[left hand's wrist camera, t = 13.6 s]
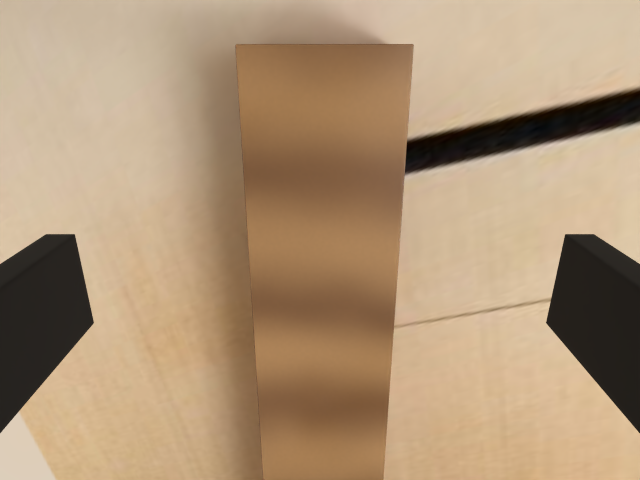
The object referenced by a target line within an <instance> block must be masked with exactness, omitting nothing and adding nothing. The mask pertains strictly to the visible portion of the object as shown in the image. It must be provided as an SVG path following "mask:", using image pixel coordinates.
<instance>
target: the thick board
mask: <svg viewBox="0 0 640 480" xmlns="http://www.w3.org/2000/svg"><path fill="white" fill-rule="evenodd" d="M413 46H414V45H413V44H236V45H235V47H236V63H237V78H238V94H239V110H240V125H241V141H242V156H243V172H244V188H245V203H246V219H247V234H248V250H249V266H250V281H251V297H252V313H253V328H254V344H255V359H256V375H257V391H258V406H259V422H260V437H261V453H262V469H263V480H383V474H384V460H385V446H386V432H387V417H388V403H389V389H390V374H391V360H392V346H393V332H394V317H395V303H396V289H397V274H398V260H399V246H400V232H401V217H402V203H403V189H404V174H405V160H406V146H407V132H408V117H409V103H410V89H411V75H412V60H413Z"/></svg>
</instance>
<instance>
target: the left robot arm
mask: <svg viewBox="0 0 640 480" xmlns="http://www.w3.org/2000/svg"><path fill="white" fill-rule="evenodd" d="M93 323H94V322H93V317H92V312H91V308H90V303H89V298H88V294H87V289H86V284H85V280H84V275H83V270H82V266H81V261H80V256H79V252H78V247H77V243H76V238H75V234H46V235H44V236H43V237H41V238H40V239H38V240H37V241H35V242H34V243H32V244H31V245H29V246H27V247H26V248H24V249H23V250H21V251H20V252H18V253H17V254H15V255H14V256H12V257H10V258H9V259H7V260H6V261H4V262H3V263H1V264H0V433H1V432H2V430H3V429H4V428H5V427H6V426H7V424H8V423H9V422H10V421H11V420H12V419H13V418H14V416H15V415H16V414H17V413H18V412H19V410H20V409H21V408H22V407H23V406H24V405H25V403H26V402H27V401H28V400H29V399H30V397H31V396H32V395H33V394H34V393H35V392H36V390H37V389H38V388H39V387H40V386H41V385H42V383H43V382H44V381H45V380H46V379H47V377H48V376H49V375H50V374H51V373H52V372H53V370H54V369H55V368H56V367H57V366H58V365H59V363H60V362H61V361H62V360H63V359H64V357H65V356H66V355H67V354H68V353H69V352H70V350H71V349H72V348H73V347H74V346H75V345H76V343H77V342H78V341H79V340H80V339H81V337H82V336H83V335H84V334H85V333H86V332H87V330H88V329H89V328H90V327H91V326H92V325H93ZM546 323H547V325H548V326H549V327H550V328H551V329H552V330H553V332H554V333H555V334H556V335H557V336H558V337H559V339H560V340H561V341H562V342H563V343H564V345H565V346H566V347H567V348H568V349H569V350H570V352H571V353H572V354H573V355H574V356H575V357H576V359H577V360H578V361H579V362H580V363H581V365H582V366H583V367H584V368H585V369H586V370H587V372H588V373H589V374H590V375H591V376H592V377H593V379H594V380H595V381H596V382H597V383H598V385H599V386H600V387H601V388H602V389H603V390H604V392H605V393H606V394H607V395H608V396H609V397H610V399H611V400H612V401H613V402H614V403H615V405H616V406H617V407H618V408H619V409H620V410H621V412H622V413H623V414H624V415H625V416H626V418H627V419H628V420H629V421H630V422H631V423H632V425H633V426H634V427H635V428H636V429H637V430H638V432H639V433H640V264H639V263H637V262H636V261H634V260H633V259H631V258H630V257H628V256H626V255H625V254H623V253H622V252H620V251H619V250H617V249H616V248H614V247H613V246H611V245H609V244H608V243H606V242H605V241H603V240H602V239H600V238H599V237H597V236H596V235H594V234H565V238H564V243H563V247H562V252H561V256H560V261H559V266H558V270H557V275H556V280H555V284H554V289H553V294H552V298H551V303H550V308H549V312H548V317H547V322H546Z"/></svg>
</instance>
